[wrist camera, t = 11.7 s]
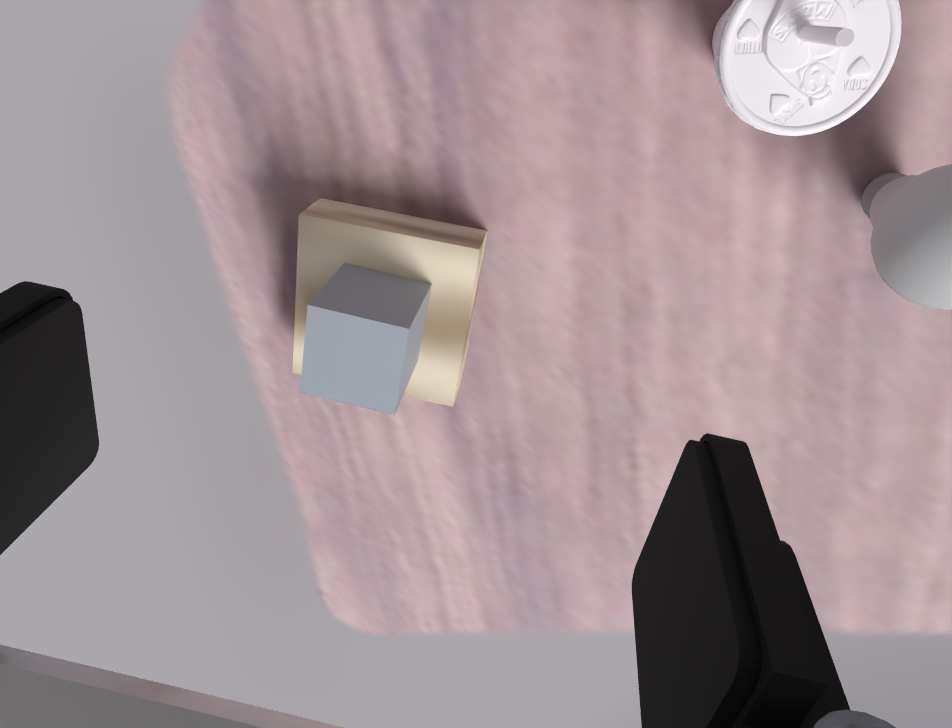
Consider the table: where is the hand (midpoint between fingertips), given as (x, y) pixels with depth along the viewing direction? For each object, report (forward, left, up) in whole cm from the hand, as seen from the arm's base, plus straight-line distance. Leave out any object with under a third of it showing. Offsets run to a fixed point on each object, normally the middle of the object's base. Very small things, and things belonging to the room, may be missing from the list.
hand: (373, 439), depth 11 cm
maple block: (+11, -6, -31) cm, 33 cm away
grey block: (+11, -6, -27) cm, 29 cm away
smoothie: (-6, +10, -31) cm, 33 cm away
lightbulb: (0, +19, -31) cm, 36 cm away
